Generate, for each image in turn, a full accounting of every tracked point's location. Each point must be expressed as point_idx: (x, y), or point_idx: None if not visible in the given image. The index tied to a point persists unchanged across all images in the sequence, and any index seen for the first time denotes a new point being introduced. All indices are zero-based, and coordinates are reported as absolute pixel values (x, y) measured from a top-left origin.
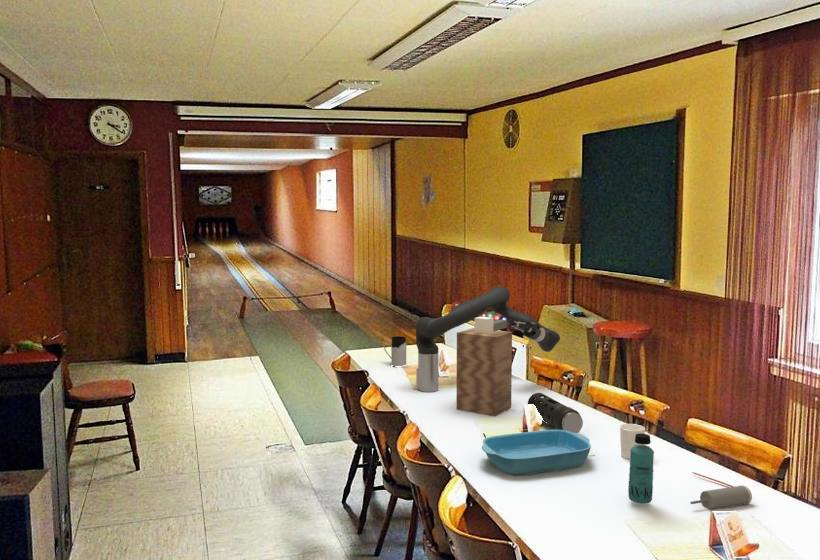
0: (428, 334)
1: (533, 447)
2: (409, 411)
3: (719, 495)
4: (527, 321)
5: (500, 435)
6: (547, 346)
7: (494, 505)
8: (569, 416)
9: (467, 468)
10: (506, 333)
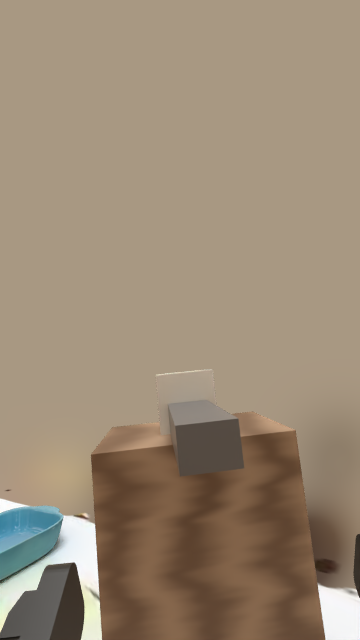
0: None
1: None
2: (342, 598)
3: None
4: (50, 570)
5: (42, 531)
6: None
7: (24, 505)
8: None
9: (74, 524)
10: (102, 442)
